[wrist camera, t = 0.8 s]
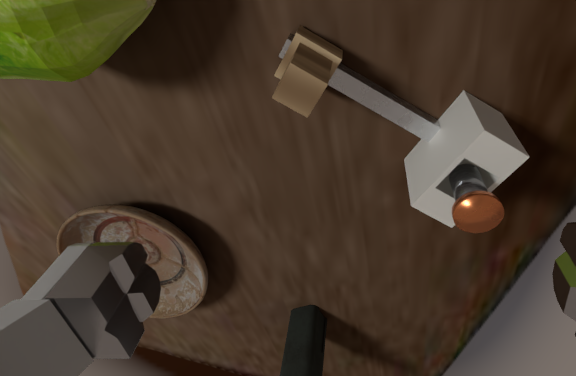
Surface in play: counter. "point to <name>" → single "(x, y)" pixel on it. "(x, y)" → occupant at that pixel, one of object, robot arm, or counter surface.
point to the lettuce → (64, 35)
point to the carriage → (306, 71)
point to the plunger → (473, 201)
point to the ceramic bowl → (157, 243)
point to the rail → (380, 100)
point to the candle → (304, 343)
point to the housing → (461, 155)
